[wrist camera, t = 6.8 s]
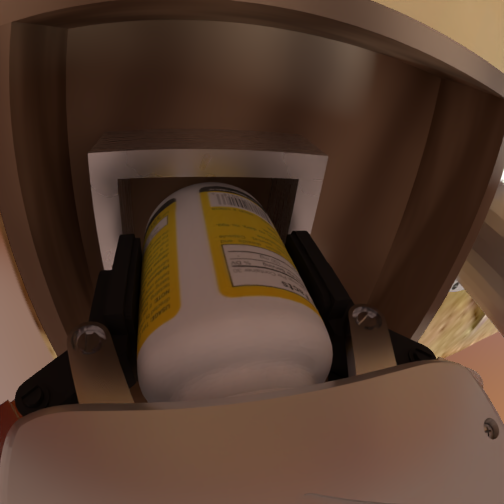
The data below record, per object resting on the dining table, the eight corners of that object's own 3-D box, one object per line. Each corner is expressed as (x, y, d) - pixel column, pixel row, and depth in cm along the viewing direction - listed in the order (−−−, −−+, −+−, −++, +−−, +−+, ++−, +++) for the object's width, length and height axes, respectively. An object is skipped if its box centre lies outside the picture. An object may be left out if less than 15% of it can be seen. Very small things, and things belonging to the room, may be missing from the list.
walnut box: (443, 65, 13) (524, 90, 8) (359, 318, 24) (392, 376, 20) (56, 13, 8) (-13, 0, 4) (100, 340, 20) (93, 415, 15)
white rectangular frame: (300, 134, 13) (328, 156, 11) (272, 280, 18) (288, 318, 16) (105, 131, 11) (87, 153, 9) (123, 287, 16) (118, 328, 14)
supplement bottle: (171, 297, 15) (192, 504, 7) (125, 202, 12) (85, 466, 4) (278, 266, 15) (362, 461, 8) (257, 162, 12) (397, 393, 4)
